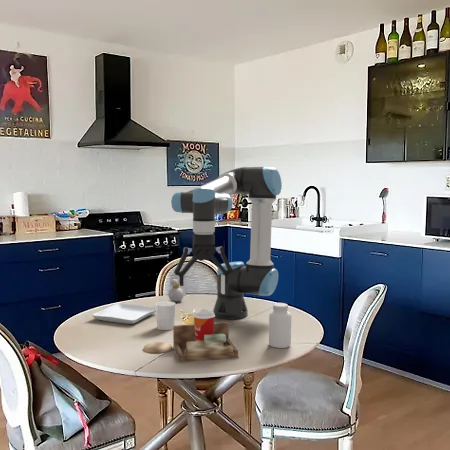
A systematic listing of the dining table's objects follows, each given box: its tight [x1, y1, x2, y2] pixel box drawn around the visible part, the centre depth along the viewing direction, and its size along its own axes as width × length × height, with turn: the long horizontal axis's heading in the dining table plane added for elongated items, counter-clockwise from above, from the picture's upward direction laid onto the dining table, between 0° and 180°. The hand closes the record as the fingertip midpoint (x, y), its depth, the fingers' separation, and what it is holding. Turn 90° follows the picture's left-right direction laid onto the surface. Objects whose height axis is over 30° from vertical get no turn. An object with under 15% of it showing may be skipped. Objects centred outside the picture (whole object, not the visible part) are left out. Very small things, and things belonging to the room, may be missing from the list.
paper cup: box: [192, 309, 216, 341], centre depth 180 cm, size 8×8×14 cm
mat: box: [143, 341, 173, 354], centre depth 183 cm, size 10×10×1 cm
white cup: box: [155, 300, 176, 331], centre depth 207 cm, size 8×8×10 cm
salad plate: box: [91, 302, 156, 325], centre depth 222 cm, size 21×21×3 cm
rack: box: [172, 321, 239, 363], centre depth 179 cm, size 20×15×8 cm
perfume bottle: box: [168, 277, 185, 303], centre depth 249 cm, size 8×10×12 cm
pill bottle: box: [268, 302, 292, 349], centre depth 186 cm, size 8×8×15 cm
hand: (203, 294), depth 178 cm, fingers open, 13 cm apart
